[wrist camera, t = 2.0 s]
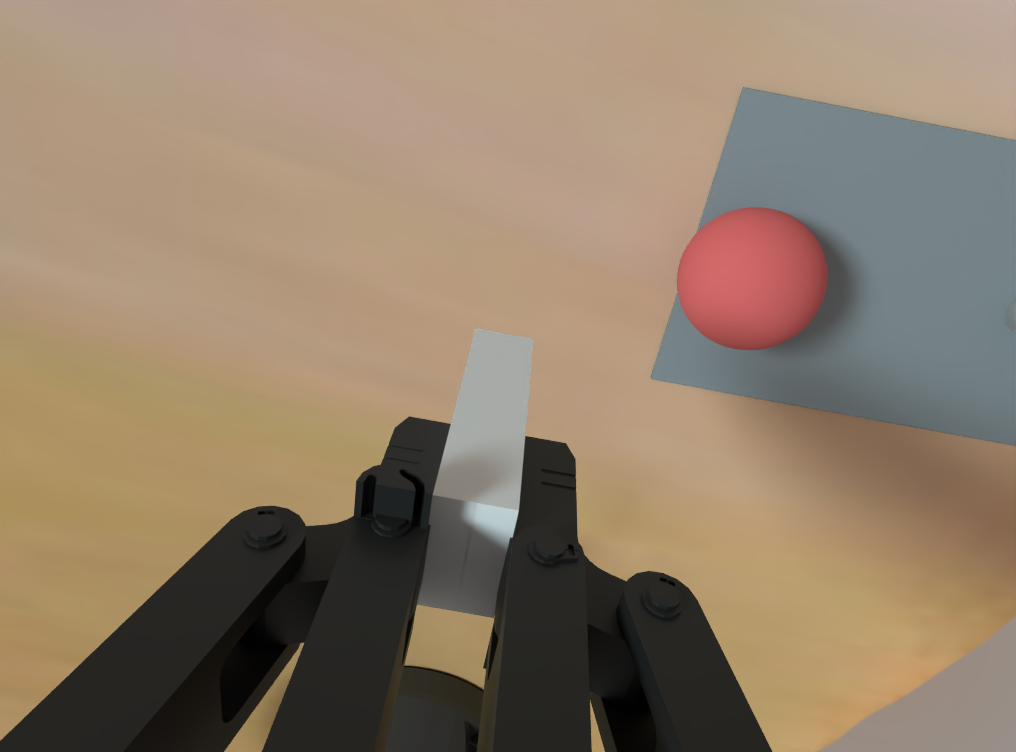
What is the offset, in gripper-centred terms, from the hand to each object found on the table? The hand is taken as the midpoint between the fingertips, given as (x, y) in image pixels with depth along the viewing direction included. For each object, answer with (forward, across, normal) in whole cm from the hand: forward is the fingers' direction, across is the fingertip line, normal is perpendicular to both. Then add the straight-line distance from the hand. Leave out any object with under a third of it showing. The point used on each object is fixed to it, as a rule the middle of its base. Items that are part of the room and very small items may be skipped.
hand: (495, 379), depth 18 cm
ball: (+13, -10, 0) cm, 16 cm away
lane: (+16, -21, 0) cm, 26 cm away
